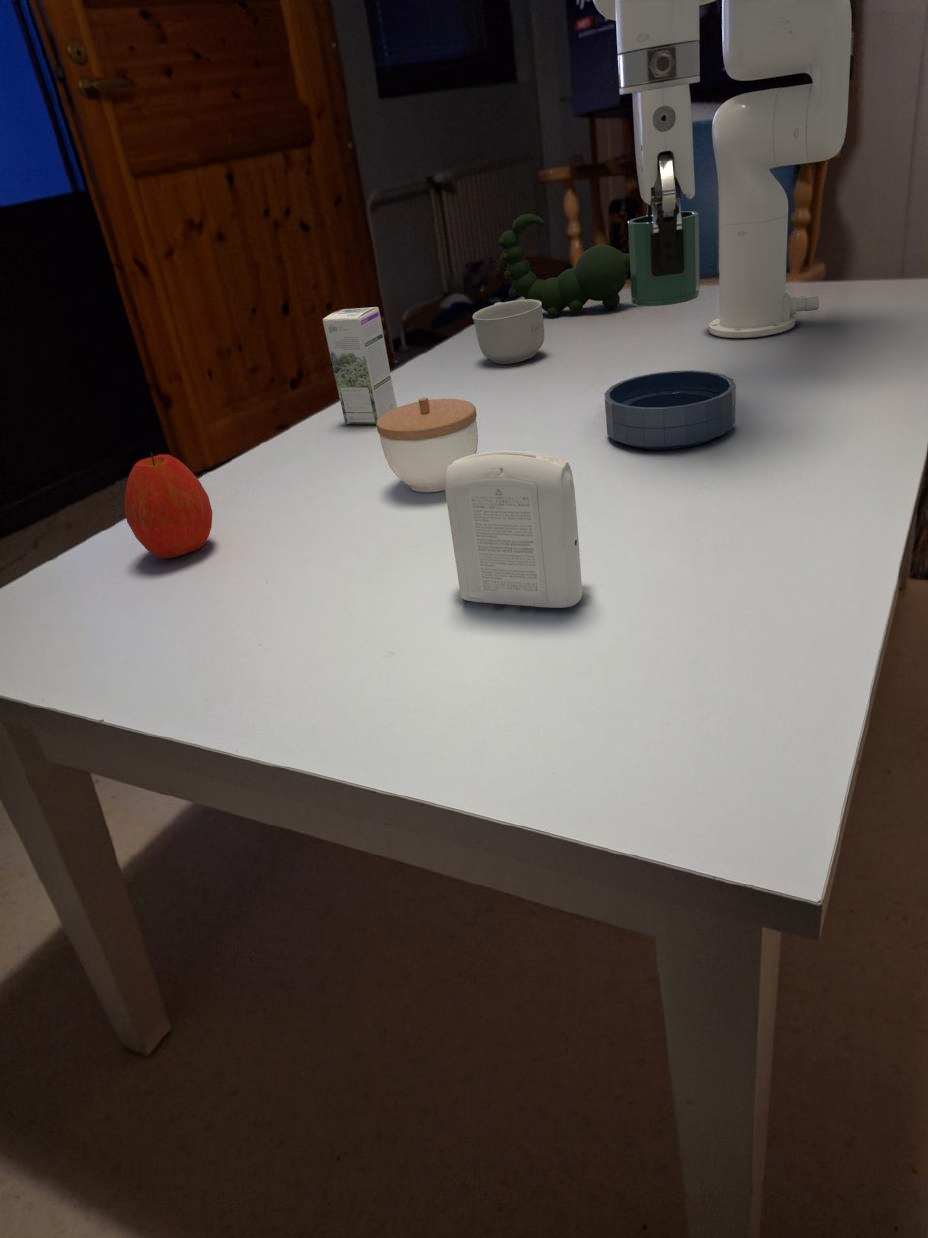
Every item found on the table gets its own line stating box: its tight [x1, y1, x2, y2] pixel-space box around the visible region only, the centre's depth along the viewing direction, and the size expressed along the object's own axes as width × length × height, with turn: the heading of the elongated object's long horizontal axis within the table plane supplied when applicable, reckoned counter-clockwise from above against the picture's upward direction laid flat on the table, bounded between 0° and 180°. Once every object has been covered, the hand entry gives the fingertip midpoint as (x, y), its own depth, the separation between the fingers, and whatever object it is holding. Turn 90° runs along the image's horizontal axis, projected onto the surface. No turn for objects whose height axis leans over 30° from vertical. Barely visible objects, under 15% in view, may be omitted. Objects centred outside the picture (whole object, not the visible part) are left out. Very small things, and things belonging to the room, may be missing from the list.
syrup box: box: [322, 306, 398, 425], centre depth 121 cm, size 6×6×14 cm
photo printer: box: [444, 449, 583, 609], centre depth 70 cm, size 10×4×12 cm, turn 69°
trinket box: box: [375, 397, 479, 494], centre depth 97 cm, size 11×11×9 cm
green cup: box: [627, 210, 701, 307], centre depth 93 cm, size 7×7×8 cm
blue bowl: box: [603, 369, 737, 450], centre depth 101 cm, size 14×14×5 cm
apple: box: [123, 452, 213, 560], centre depth 90 cm, size 8×8×11 cm
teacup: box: [472, 298, 545, 365], centre depth 142 cm, size 14×11×8 cm
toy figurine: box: [497, 213, 630, 318], centre depth 162 cm, size 9×19×25 cm
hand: (664, 266), depth 94 cm, fingers closed on green cup, 7 cm apart
